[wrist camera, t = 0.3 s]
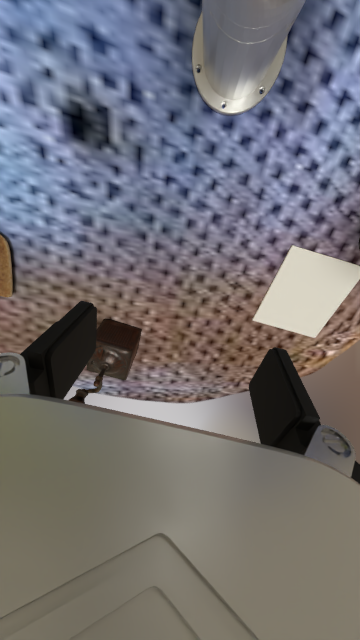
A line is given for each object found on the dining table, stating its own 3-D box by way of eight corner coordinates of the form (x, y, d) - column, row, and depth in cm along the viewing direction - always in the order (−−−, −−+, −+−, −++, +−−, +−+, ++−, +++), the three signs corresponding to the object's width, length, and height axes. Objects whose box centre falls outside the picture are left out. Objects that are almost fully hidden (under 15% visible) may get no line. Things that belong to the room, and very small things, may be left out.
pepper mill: (101, 316, 56) (62, 365, 41) (142, 328, 57) (119, 380, 41) (97, 358, 64) (63, 412, 49) (133, 369, 65) (110, 424, 50)
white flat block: (291, 245, 42) (292, 245, 42) (366, 267, 43) (367, 268, 43) (252, 319, 52) (252, 320, 51) (314, 336, 53) (314, 337, 52)
